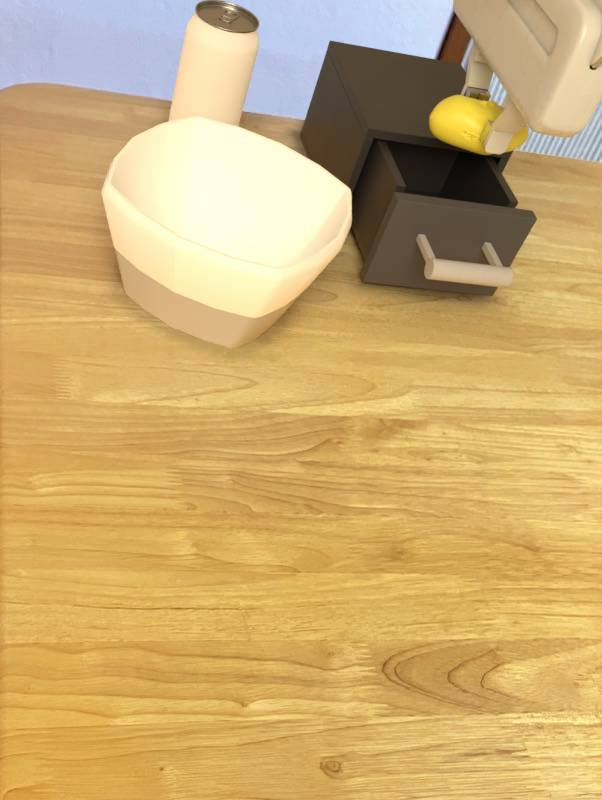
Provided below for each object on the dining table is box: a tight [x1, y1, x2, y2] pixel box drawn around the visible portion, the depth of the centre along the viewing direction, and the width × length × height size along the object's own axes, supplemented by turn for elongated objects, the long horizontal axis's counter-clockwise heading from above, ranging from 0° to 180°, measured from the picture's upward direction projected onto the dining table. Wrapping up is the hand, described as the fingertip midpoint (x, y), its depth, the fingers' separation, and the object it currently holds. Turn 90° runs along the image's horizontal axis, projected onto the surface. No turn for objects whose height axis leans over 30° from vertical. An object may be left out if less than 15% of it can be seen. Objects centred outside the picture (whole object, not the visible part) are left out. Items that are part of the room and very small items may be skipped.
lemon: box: [429, 95, 530, 155], centre depth 69 cm, size 4×8×4 cm, turn 82°
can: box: [167, 0, 260, 127], centre depth 80 cm, size 6×6×12 cm
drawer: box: [351, 138, 538, 297], centre depth 76 cm, size 20×12×8 cm, turn 7°
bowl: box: [100, 116, 352, 349], centre depth 67 cm, size 18×18×9 cm
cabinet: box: [299, 40, 514, 230], centre depth 83 cm, size 16×14×10 cm
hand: (478, 129), depth 69 cm, fingers closed on lemon, 4 cm apart
